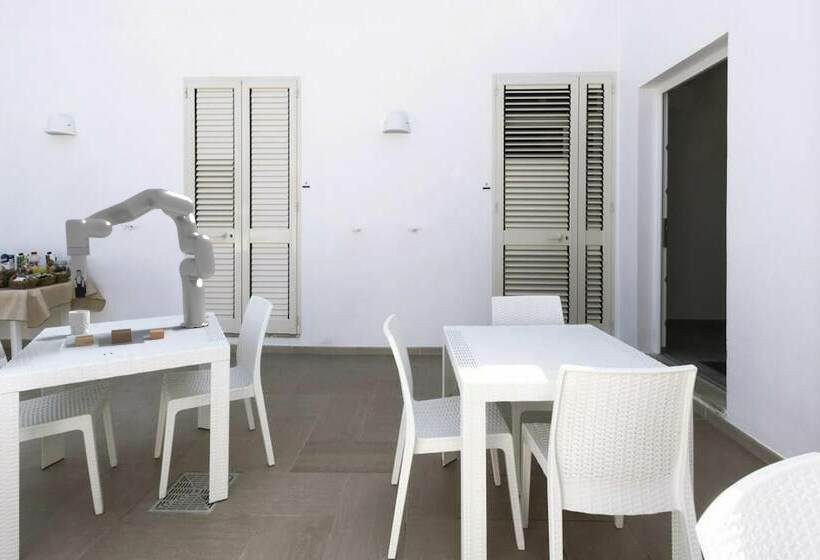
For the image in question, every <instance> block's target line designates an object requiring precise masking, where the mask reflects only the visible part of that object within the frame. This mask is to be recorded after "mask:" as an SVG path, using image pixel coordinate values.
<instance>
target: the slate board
mask: <svg viewBox="0 0 820 560" xmlns="http://www.w3.org/2000/svg"><path fill="white" fill-rule="evenodd" d="M131 338H132V342H121V343H112V338H111V337H105V338H99V341H98V348H102V347H103V348H105V347H111V346H112V347H114V346H116V347H117V346H127V345H134V344H136V345H137V344H145V338H144V335H143V334H141V335H140V334H139V335H138V334H137V335H131Z"/></svg>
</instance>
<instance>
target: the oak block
mask: <svg viewBox="0 0 820 560" xmlns="http://www.w3.org/2000/svg"><path fill="white" fill-rule="evenodd" d="M93 345H94V334H86V335H75V338H74V347H84V346H93Z"/></svg>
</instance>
